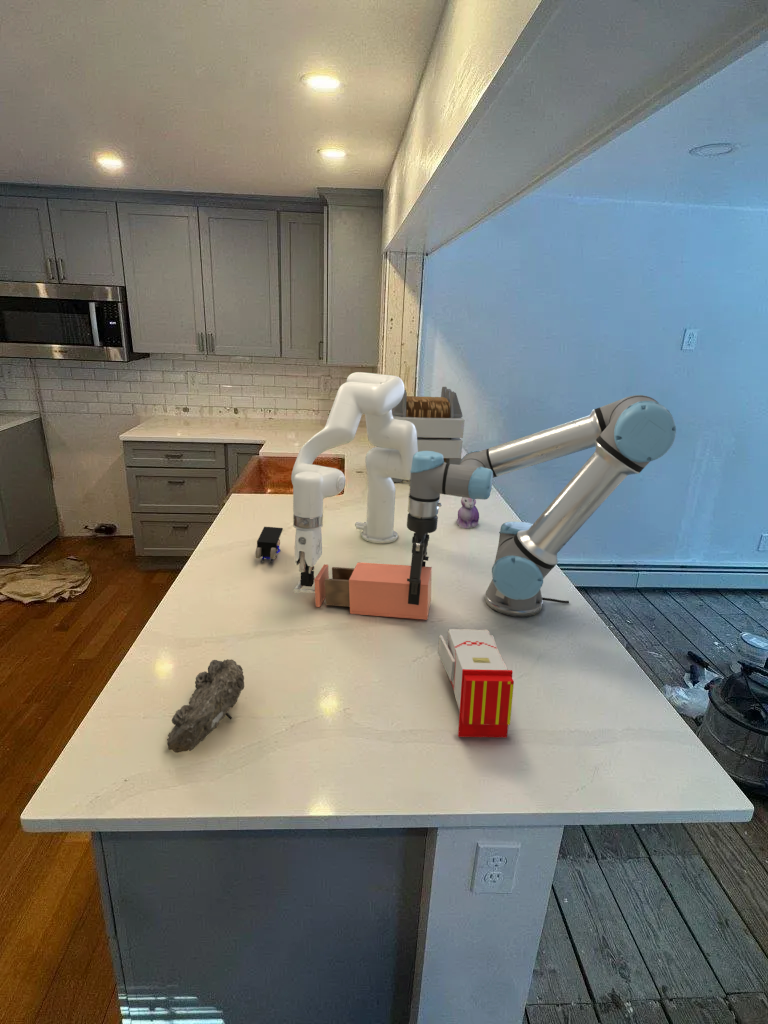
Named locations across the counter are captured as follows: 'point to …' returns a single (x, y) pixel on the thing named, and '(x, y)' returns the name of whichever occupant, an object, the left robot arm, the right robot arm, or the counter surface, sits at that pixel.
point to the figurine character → (268, 543)
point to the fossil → (206, 705)
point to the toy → (478, 682)
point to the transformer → (434, 423)
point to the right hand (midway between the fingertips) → (416, 593)
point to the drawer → (330, 586)
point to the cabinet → (388, 591)
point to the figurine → (468, 513)
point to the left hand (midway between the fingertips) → (307, 584)
